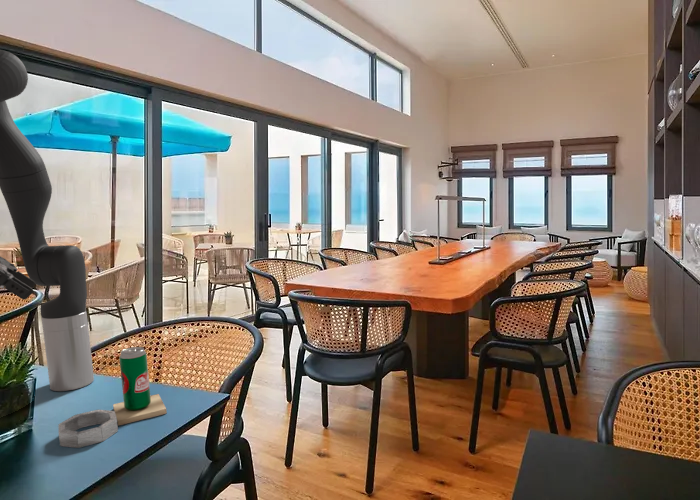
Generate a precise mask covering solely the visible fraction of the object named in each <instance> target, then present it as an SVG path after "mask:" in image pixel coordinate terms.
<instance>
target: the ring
mask: <svg viewBox="0 0 700 500" xmlns="http://www.w3.org/2000/svg"><path fill="white" fill-rule="evenodd" d="M96 425H99V426H98V427H97V426H96ZM91 426H96V427H93V428H89V429H84V430H82V431H80V430H79V429H83V428H87V427H91ZM57 427H58V439H59V447H65V448H66V447H67V448H76V449H79V448H85V447H87V446H91V445H95V444H98V443H103V442H104V441H106V440H108V438H110V437H112V436H113V435H115V434H116V433H117V432H119V428H118V423H117V418H116V414H115V411H114V410H109V409H94V410H90V411H85V412H82V413H77V414H75V415H73V416H70V417H69V418H67V419H65V420H64V421H62V422H60V423H59V424H58V426H57ZM78 430H79V431H78Z"/></svg>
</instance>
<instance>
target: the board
mask: <svg viewBox="0 0 700 500" xmlns="http://www.w3.org/2000/svg"><path fill="white" fill-rule="evenodd" d="M150 397H151V403H150V404H149V406H147V407H146V408H144V409H141V410H137V411H129V410H127V409H126V408H125V407H124V401H121V402H116V403H114V404H112V406H113V411H115V414H116V418H117V426H122V425H127V424H130V423H134V422H139V421H142V420H146V419H150V418H154V417H158V416H162V415H165V414H167V413H168V412H167V411H168V410H167V408H166V405H165V404H164V401H163V399H162V398H161V396H160V394H159V393H157V394H152V395H151V394H150Z"/></svg>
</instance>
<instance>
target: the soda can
mask: <svg viewBox="0 0 700 500" xmlns="http://www.w3.org/2000/svg"><path fill="white" fill-rule="evenodd" d="M147 356H148V355H147V352H146V351H145V348H144V347H142V346H133V347H128V348H125V349H122V350H121V351H120V355H119V358H118V359H119V369H120V379H121V389H122V397H123V402H124V407H125V408H126V409H127V410H129V411H137V410H141V409H144V408H146V407H147V406H149V404H150V403H151V397H150V396H151V390H150V388H151V387H150V378H149V369H148V368H149V366H148V357H147Z"/></svg>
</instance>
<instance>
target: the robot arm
mask: <svg viewBox="0 0 700 500" xmlns="http://www.w3.org/2000/svg"><path fill="white" fill-rule="evenodd" d="M28 79H29V76H28V71H27V67H26V66H25V64H24V62H23V61H22V60H21V59H20V58H19V57H18V56H17V55H15V54H14V53H12V52H10V51H6V50H3V49H0V191H1V193H2V196H3V199H4V201H5V203H6V206H7V208H8V209H7V210H8V212H9V215H10V217H11V220H12V223H13V227H14V229H15V233H16V236H17V242H18V246H19V250H20V254H21V258H22V261H23V264H24V268H25V271H26V273H27V276H26V275H25V274H24V273H22V272H21V271H19V270H18V268H17V267H16V265H15V263H12V262H10V261H8V260H7V259H6V258H4V257H2V256H0V289H5V290H7V291H8V292H10V293H12V294H13V295H15V296H16V297H18V298H20V299H21V300H24V301H25V300H27V299H28V298H29V297H30V296H31V295H32V294H33V293H34V289H33V287H34V286H35V285H37V286H40V287H47V286H49V287H53V286H54V287H55V286H59V294H58V296H56V297H55V298H53V299H51V300H48V301H45V302H43V303H42V304H41V305H40V307H39V309H40V317H41V325H42V326H41V327H42V333H43V341H44V349H45V358H46V367H47V373H48V382H49V388H50V390H51V391H55V392H65V391H72V390H73V391H74V390H77V389H80V388H84V387H86V386H88V385H90V384H92V383H93V382H94V380H95V378H94V377H95V375H94V369H93V366H94V365H93V359H92V358H93V357H92V347H91V341H90V331H89V323H88V316H87V315H88V313H87V296H88V290H87V277H86V275H87V274H86V271H87V270H86V261H85V257H84V254H83V252H82V250H81V249H80V248H79V247H78V246H76V245H70V244H69V245H49V244H48V242H47V240H46V236H45V233H44V226H43V225H44V219H45V217H46V216H45V215H46V213H47V211H48V207H49V205H50V202H51V198H52V194H53V188H52V183H51V180H50V177H49V173H48V169H47V168H46V164H45V162H44V159H43V158H42V156H41V154H40V153H39V151H38V150H37V149H36V148H35V146H33V144H32V143H31V142H30V140H29V139H28V138H27V136H25V135H24V134H23V133H22V131H21V130H20V129H19V127H18V126H17V124H16V123H15V121H14V119H13V118H12V115H11V113H10V110H9V108H8V107H9V106H8V104H7V101H8V100H10V99H14V98H16V97H18V96H20V95H21V94H22V93H23V92H24V91H25V89H26V88H27V86H28V83H29V82H28V81H29V80H28Z"/></svg>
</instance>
